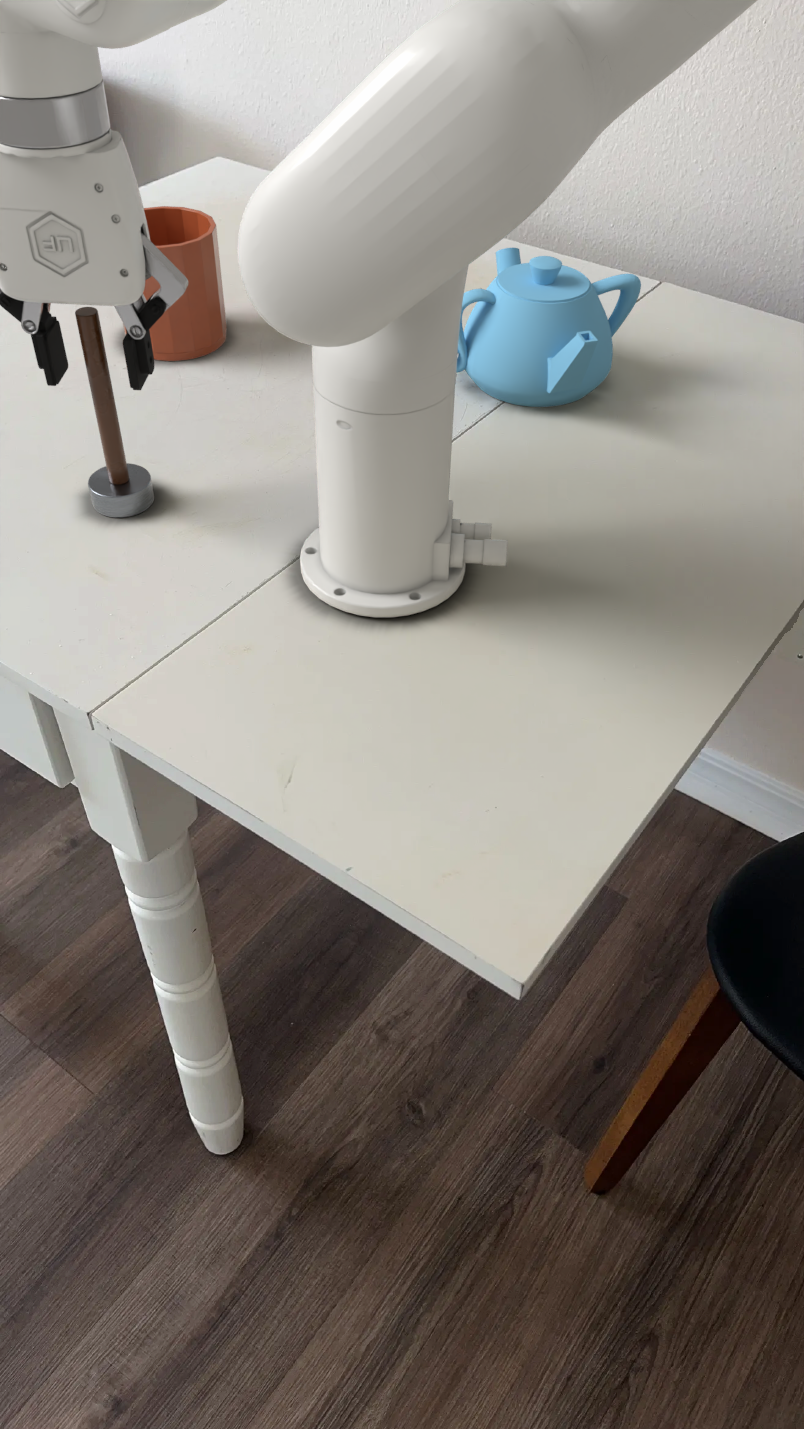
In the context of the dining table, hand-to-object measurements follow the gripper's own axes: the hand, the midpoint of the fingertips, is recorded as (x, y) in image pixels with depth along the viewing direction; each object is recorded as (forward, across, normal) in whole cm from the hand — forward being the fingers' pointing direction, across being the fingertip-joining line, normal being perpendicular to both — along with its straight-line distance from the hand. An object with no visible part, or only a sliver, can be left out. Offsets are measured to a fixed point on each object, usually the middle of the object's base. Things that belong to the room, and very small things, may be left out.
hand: (99, 377), depth 81 cm
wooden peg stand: (+11, 0, 0) cm, 11 cm away
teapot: (+11, +34, +25) cm, 44 cm away
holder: (+11, -2, +29) cm, 31 cm away
